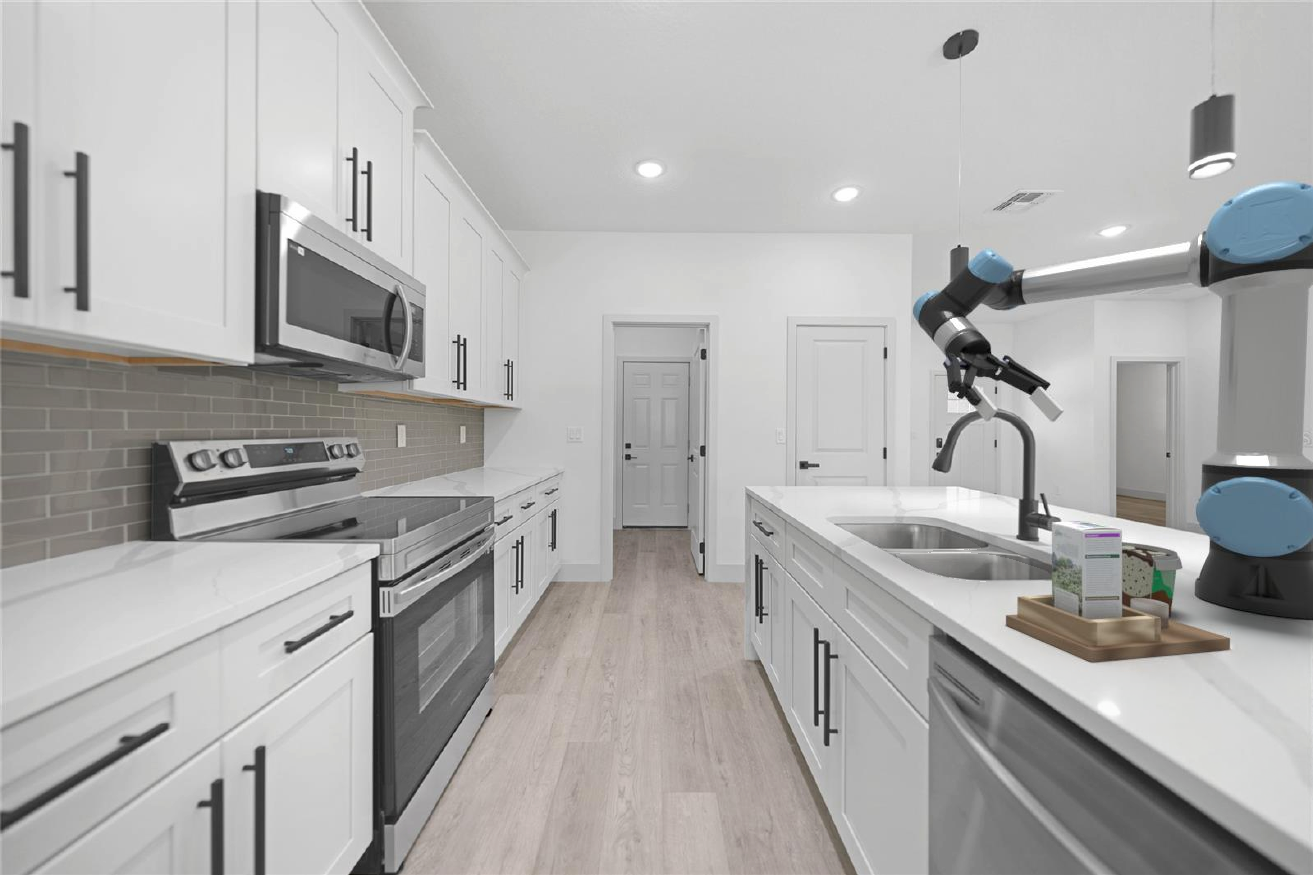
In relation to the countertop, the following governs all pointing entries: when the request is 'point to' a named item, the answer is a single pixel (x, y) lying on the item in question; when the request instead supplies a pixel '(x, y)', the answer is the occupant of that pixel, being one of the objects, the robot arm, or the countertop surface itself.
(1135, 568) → the food container
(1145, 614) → the wooden tray on board
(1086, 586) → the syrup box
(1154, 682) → the countertop surface
